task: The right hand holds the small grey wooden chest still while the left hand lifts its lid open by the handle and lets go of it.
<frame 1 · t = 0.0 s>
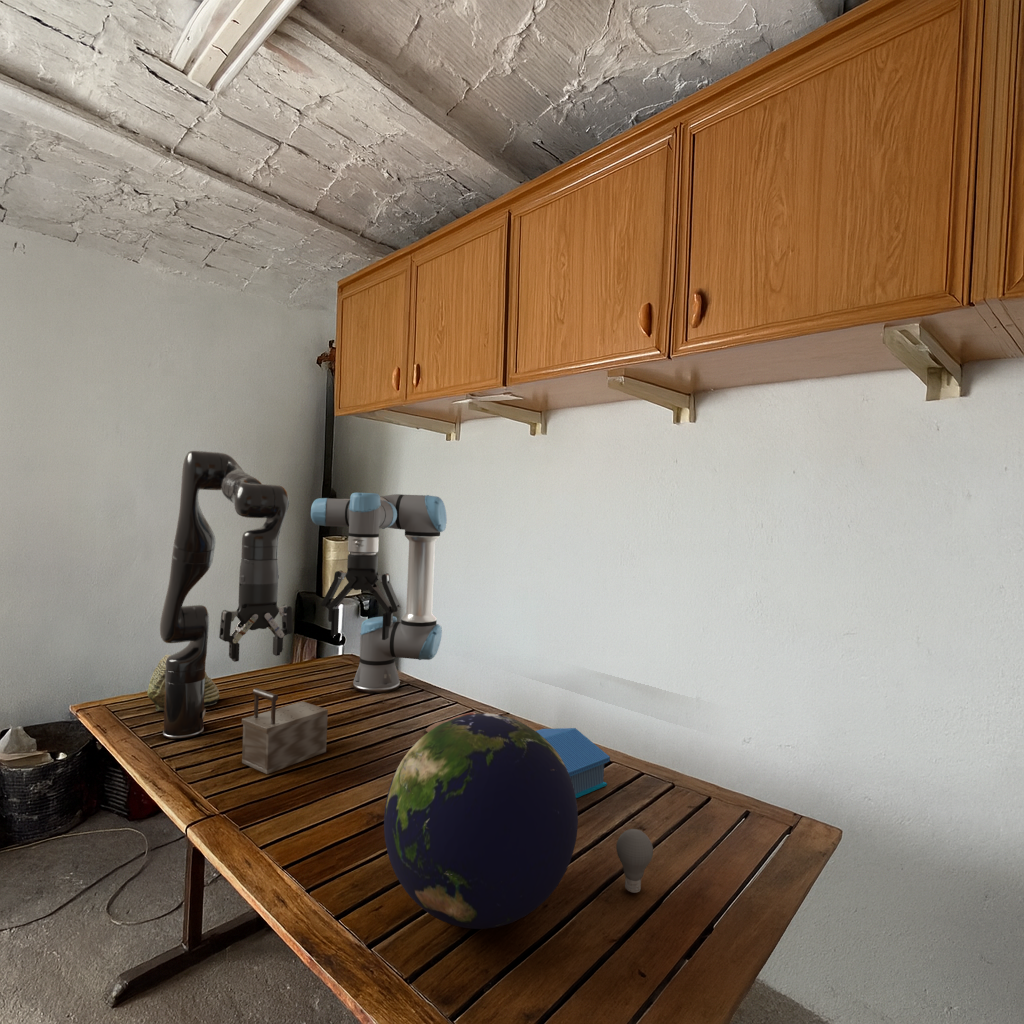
left hand: (256, 657, 132), 29 cm above the table, tool pointing down, fingers open, 8 cm apart
right hand: (359, 636, 161), 28 cm above the table, tool pointing down, fingers open, 13 cm apart
model building: (518, 795, 138), on the table
light bulb: (632, 891, 106), on the table
anatomical model: (451, 730, 175), on the table
globe: (477, 910, 99), on the table
fossil: (183, 706, 185), on the table
lid: (286, 702, 152), point 13 cm above the table, hinge at 0.0°
chest: (285, 757, 153), on the table
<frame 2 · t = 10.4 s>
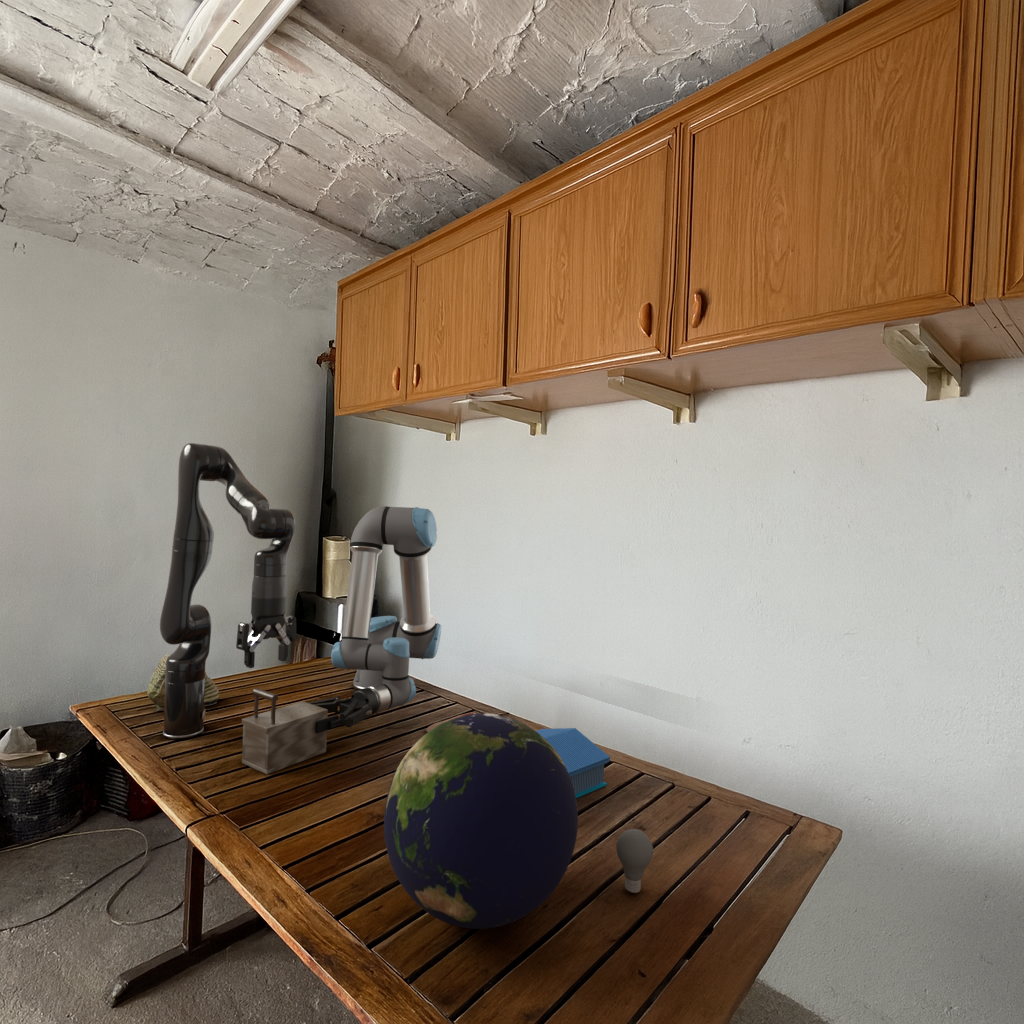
left hand: (266, 663, 147), 24 cm above the table, tool pointing down, fingers open, 8 cm apart
right hand: (302, 722, 156), 7 cm above the table, tool horizontal, fingers closed on chest, 10 cm apart
chest: (285, 757, 153), on the table, touching right hand
everything else where it was.
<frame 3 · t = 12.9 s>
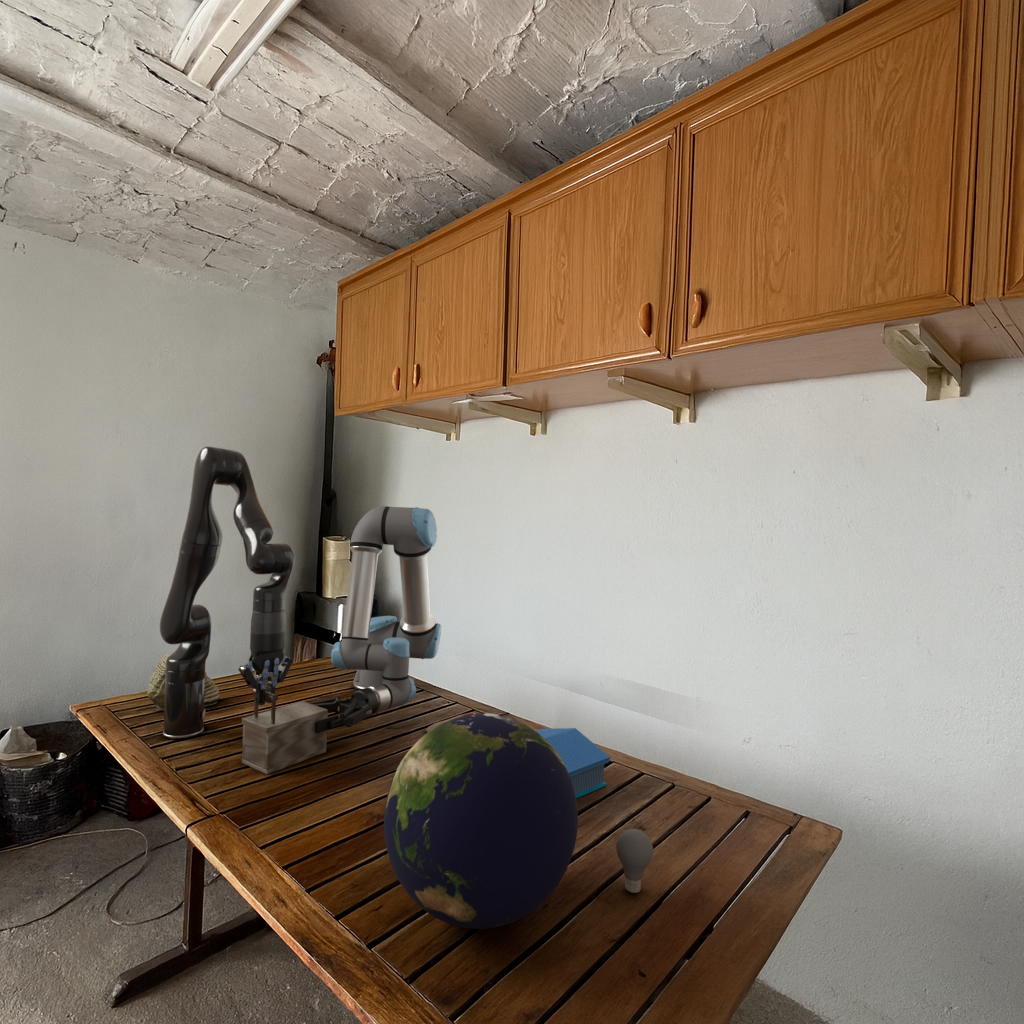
left hand: (265, 703, 147), 15 cm above the table, tool pointing down, fingers closed on lid
right hand: (302, 722, 156), 7 cm above the table, tool horizontal, fingers closed on chest, 10 cm apart
lid: (286, 702, 152), point 13 cm above the table, hinge at 0.3°, touching left hand
chest: (285, 757, 153), on the table, touching right hand
everything else where it was.
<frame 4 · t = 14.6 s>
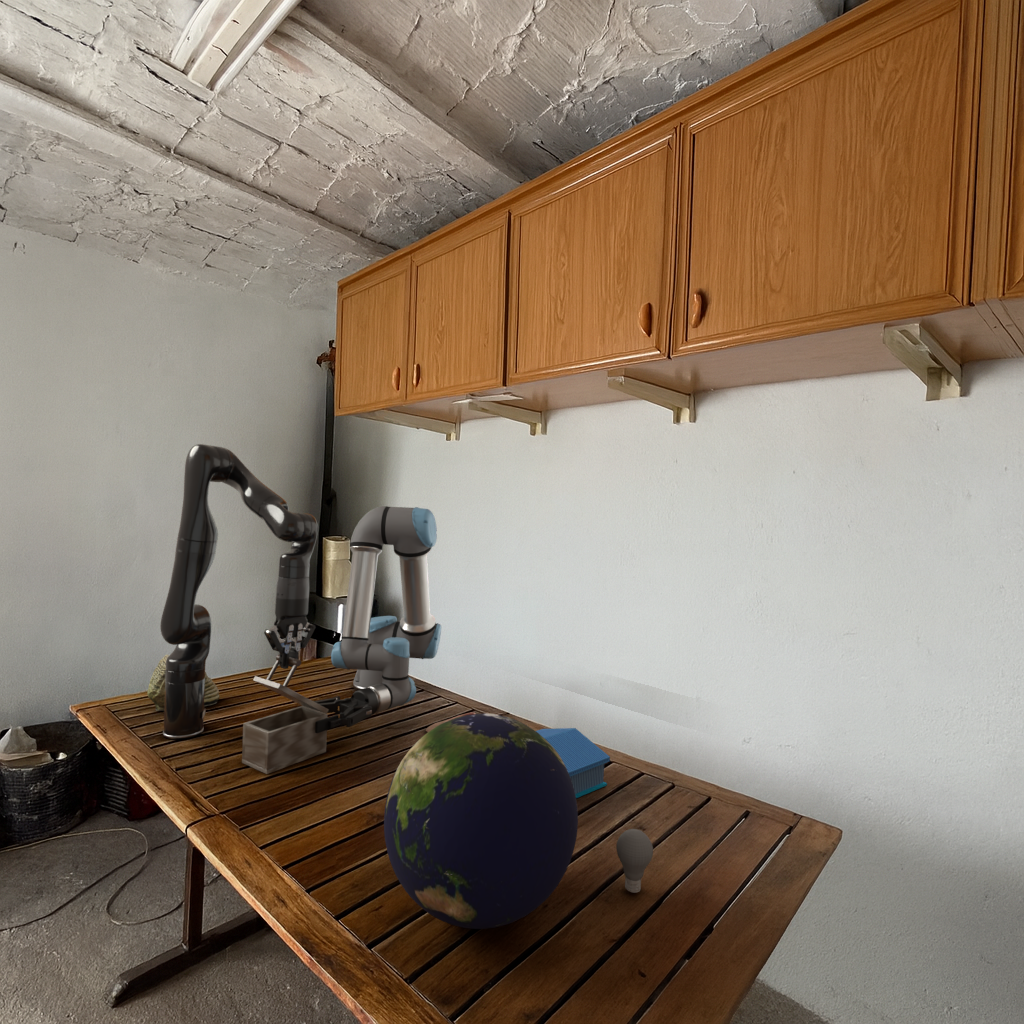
left hand: (288, 667, 152), 22 cm above the table, tool pointing down, fingers closed on lid
right hand: (302, 722, 157), 7 cm above the table, tool horizontal, fingers closed on chest, 10 cm apart
lid: (298, 682, 155), point 18 cm above the table, hinge at 33.7°, touching left hand
chest: (285, 757, 153), on the table, touching right hand
everything else where it was.
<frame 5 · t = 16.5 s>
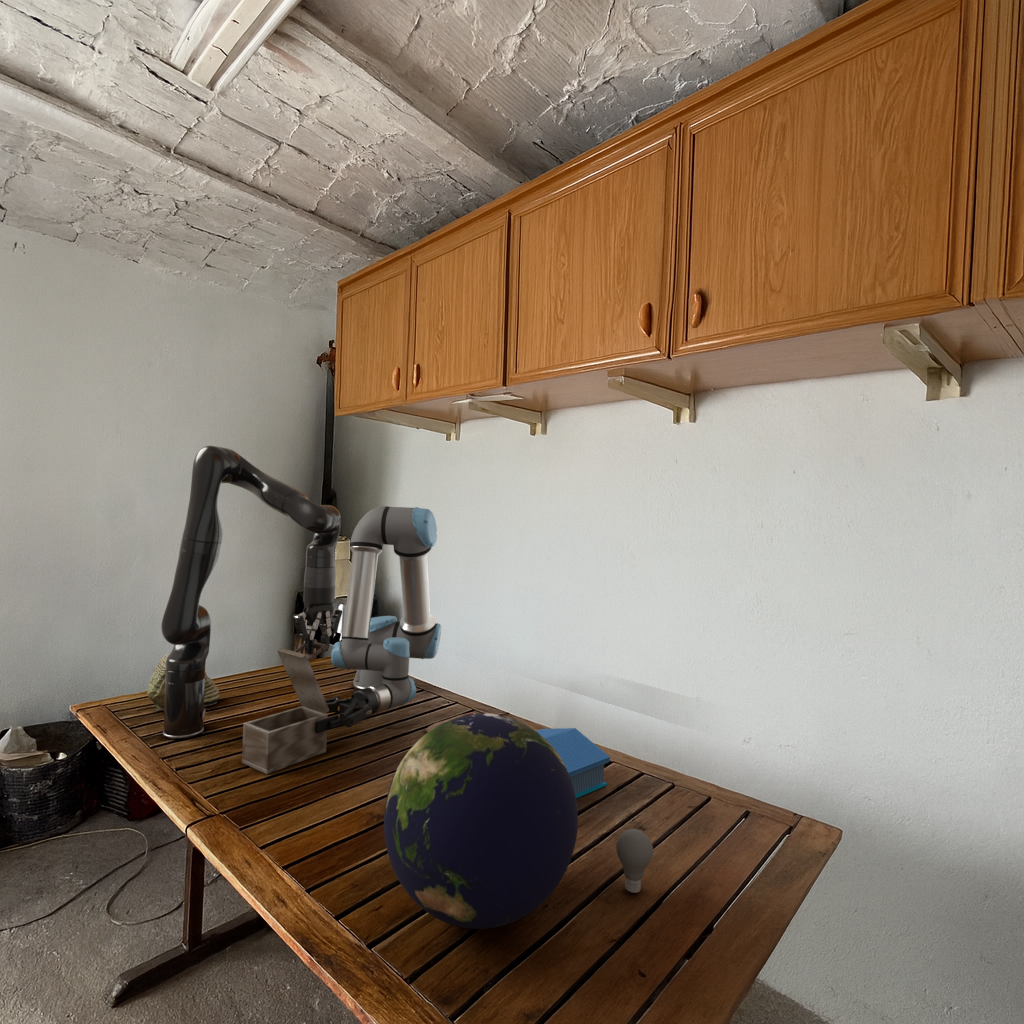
left hand: (317, 652, 159), 24 cm above the table, tool pointing down, fingers open, 4 cm apart
right hand: (302, 722, 157), 7 cm above the table, tool horizontal, fingers closed on chest, 10 cm apart
lid: (313, 672, 159), point 19 cm above the table, hinge at 63.0°
chest: (285, 757, 153), on the table, touching right hand
everything else where it was.
when the right hand's fingers open (7 cm above the table, at t = 20.3 s): chest stays where it is, on the table.
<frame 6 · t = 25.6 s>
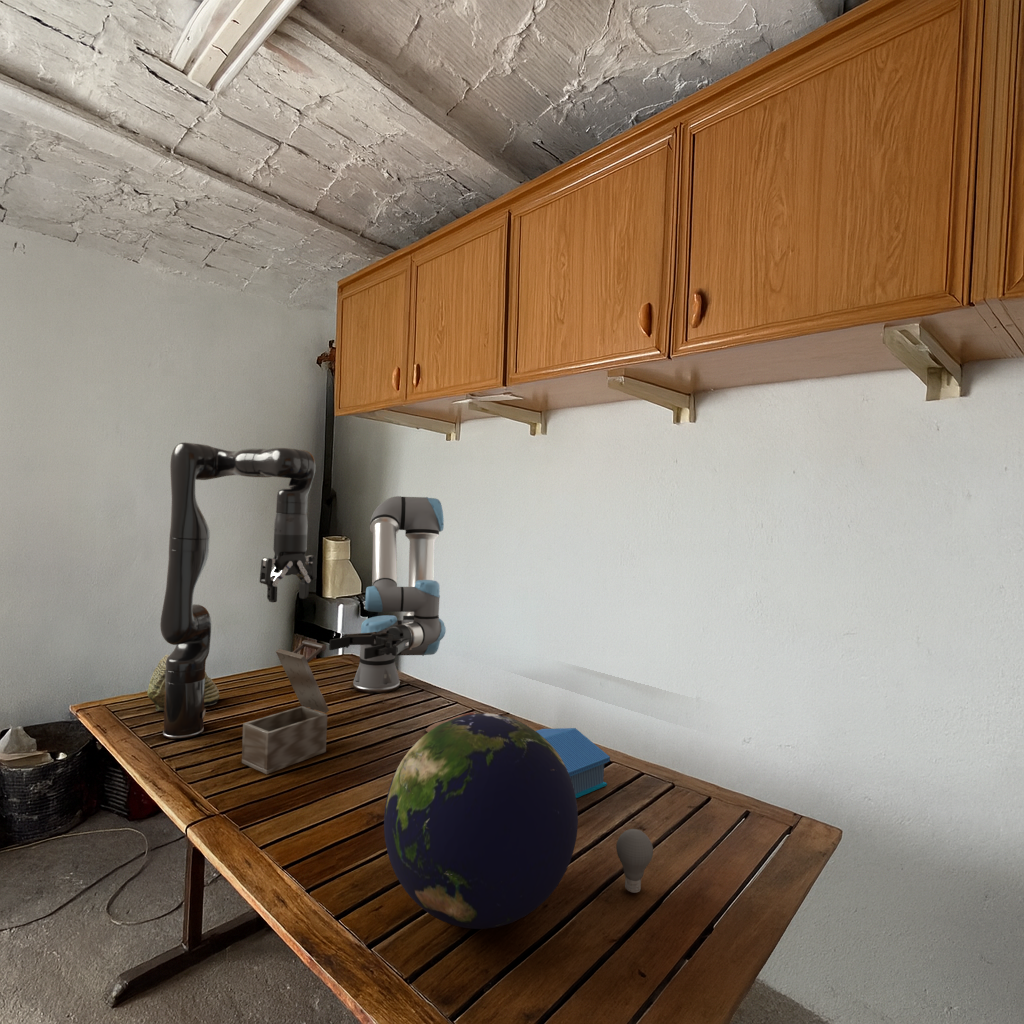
left hand: (288, 600, 151), 38 cm above the table, tool pointing down, fingers open, 8 cm apart
right hand: (347, 649, 167), 23 cm above the table, tool horizontal, fingers open, 13 cm apart
lid: (312, 672, 158), point 19 cm above the table, hinge at 62.0°
chest: (284, 757, 153), on the table
everything else where it was.
at the end: lid at +62° (first picture: +0°); the left hand is holding nothing; the right hand is holding nothing; chest tilted 0°; chest never tilted more than 1° during the clip; chest moved 0.1 cm from its start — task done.
